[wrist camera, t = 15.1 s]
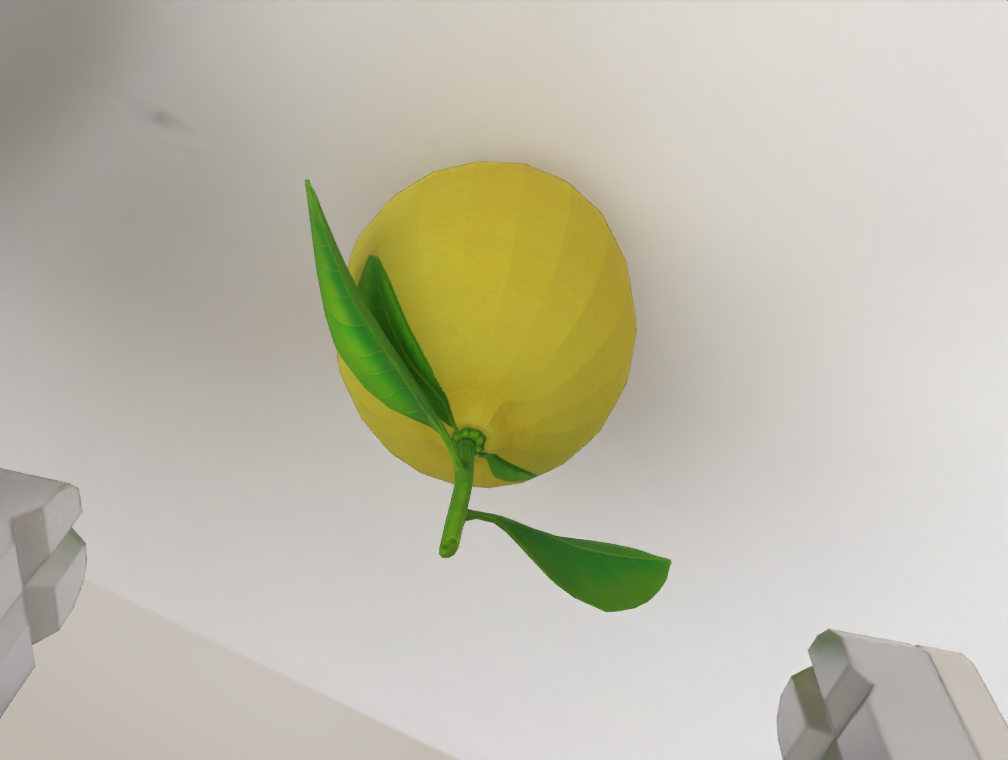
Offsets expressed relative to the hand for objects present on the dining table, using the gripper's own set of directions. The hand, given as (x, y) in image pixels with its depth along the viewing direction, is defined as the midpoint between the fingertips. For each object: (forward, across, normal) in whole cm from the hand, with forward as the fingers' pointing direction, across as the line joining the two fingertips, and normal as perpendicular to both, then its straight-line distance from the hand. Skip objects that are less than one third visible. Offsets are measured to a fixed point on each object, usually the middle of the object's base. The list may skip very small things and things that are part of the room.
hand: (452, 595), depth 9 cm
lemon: (+11, 0, 0) cm, 11 cm away
